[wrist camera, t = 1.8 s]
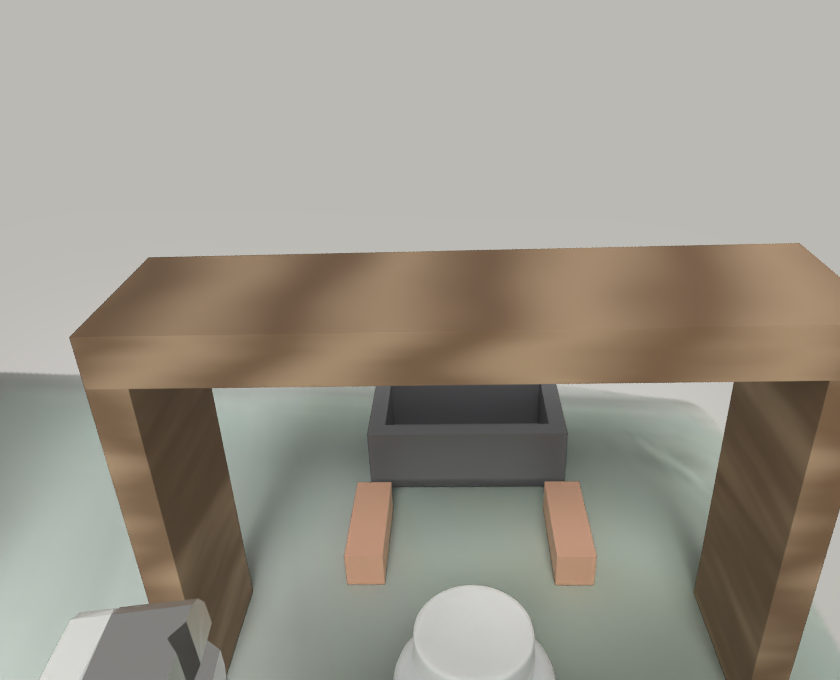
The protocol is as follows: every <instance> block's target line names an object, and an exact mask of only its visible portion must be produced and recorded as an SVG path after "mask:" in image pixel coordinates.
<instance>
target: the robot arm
mask: <svg viewBox="0 0 840 680" xmlns="http://www.w3.org/2000/svg"><path fill="white" fill-rule="evenodd" d="M211 624H212V622H211V619H210V616H209V613H208V610H207V607H206V605H205V602H203V601H202V600H200V599H189V600H180V601H171V602H163V603H154V604H145V605H137V606H128V607H120V608H119V609H108V610H100V611H91V612H83V613H79V614H78V615H76V616H75V617H74V618H72V619H71V620H70V621H69V623H68V625H67V627H66V629H65V630H64V632H63V634H62V636H61V638H60V640H59V642H58V644H57V646H56V647H55V649H54V651H53V653H52V655H51V657H50V659H49V661H48V663H47V665H46V666H45V668H44V670H43V672H42V674H41V676H40V678H39V680H227V678H226V671H225V664H224V661H223V657H222V654H221V651H220V649H219V648H217V647H216V646H214V645H213V644H212V643H210V642H209V641H208V640H207V639H208V635H209V631H210V627H211Z"/></svg>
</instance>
